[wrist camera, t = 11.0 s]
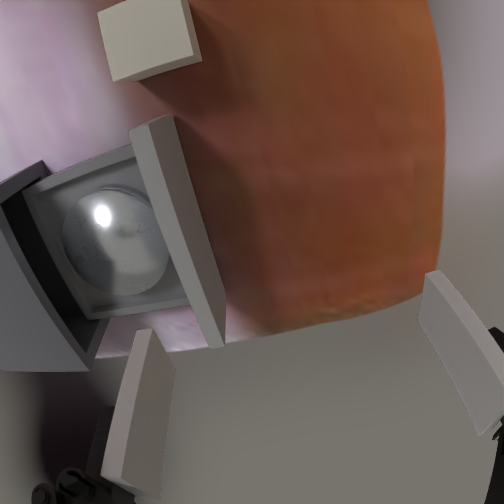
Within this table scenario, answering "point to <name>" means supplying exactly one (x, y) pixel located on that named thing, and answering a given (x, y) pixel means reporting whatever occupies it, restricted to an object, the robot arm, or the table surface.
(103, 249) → the disc
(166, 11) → the pedestal
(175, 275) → the tray
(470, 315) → the robot arm
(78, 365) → the housing
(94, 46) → the table surface
